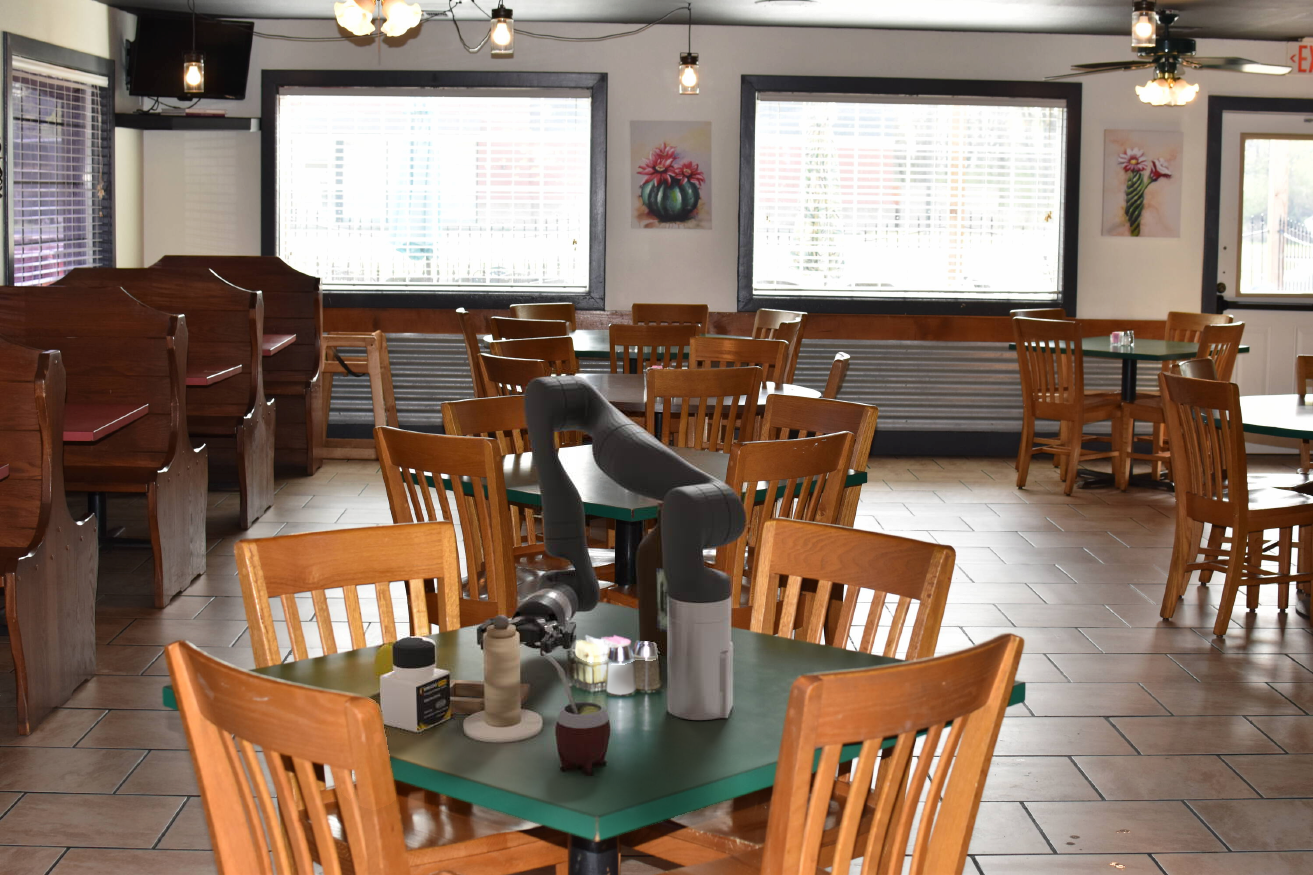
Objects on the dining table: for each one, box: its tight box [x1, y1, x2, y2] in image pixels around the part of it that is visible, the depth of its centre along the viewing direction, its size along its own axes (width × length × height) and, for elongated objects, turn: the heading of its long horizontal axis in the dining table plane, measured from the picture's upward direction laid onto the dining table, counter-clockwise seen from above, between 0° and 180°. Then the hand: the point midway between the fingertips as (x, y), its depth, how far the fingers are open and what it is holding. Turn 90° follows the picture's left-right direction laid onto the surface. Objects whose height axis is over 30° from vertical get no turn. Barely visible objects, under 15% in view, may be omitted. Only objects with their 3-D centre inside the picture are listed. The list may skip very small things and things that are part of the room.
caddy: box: [450, 678, 530, 715], centre depth 195 cm, size 13×9×2 cm
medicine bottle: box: [379, 635, 452, 734], centre depth 188 cm, size 7×7×12 cm
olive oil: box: [635, 500, 667, 656], centre depth 222 cm, size 11×11×25 cm
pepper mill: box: [482, 614, 522, 727], centre depth 185 cm, size 5×5×15 cm
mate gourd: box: [542, 651, 611, 777], centre depth 170 cm, size 8×8×15 cm
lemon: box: [373, 640, 396, 685], centre depth 201 cm, size 6×6×8 cm
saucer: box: [462, 708, 543, 743], centre depth 186 cm, size 11×11×1 cm
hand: (513, 647), depth 190 cm, fingers open, 8 cm apart
